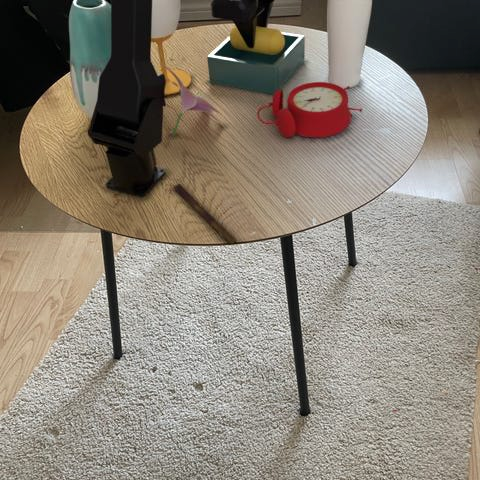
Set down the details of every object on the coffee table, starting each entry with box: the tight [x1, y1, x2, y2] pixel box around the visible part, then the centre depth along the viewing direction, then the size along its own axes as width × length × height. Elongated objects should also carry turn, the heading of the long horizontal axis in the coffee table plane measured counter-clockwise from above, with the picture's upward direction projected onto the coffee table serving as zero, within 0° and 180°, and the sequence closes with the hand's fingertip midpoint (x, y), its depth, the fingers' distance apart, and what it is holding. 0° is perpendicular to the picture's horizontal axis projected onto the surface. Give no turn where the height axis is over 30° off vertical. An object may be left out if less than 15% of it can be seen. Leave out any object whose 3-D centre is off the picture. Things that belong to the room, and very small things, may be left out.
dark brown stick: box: [173, 183, 237, 246], centre depth 80 cm, size 15×1×1 cm
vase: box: [68, 0, 111, 120], centre depth 92 cm, size 12×12×18 cm
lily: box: [160, 63, 224, 136], centre depth 92 cm, size 12×12×10 cm
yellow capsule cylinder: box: [228, 25, 285, 55], centre depth 101 cm, size 4×10×4 cm, turn 63°
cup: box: [151, 0, 192, 96], centre depth 98 cm, size 9×9×16 cm
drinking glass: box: [326, 0, 373, 89], centre depth 95 cm, size 7×7×15 cm
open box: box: [206, 31, 306, 95], centre depth 104 cm, size 13×13×5 cm
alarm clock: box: [256, 81, 363, 138], centre depth 92 cm, size 10×6×15 cm
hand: (256, 42), depth 101 cm, fingers closed on yellow capsule cylinder, 4 cm apart
